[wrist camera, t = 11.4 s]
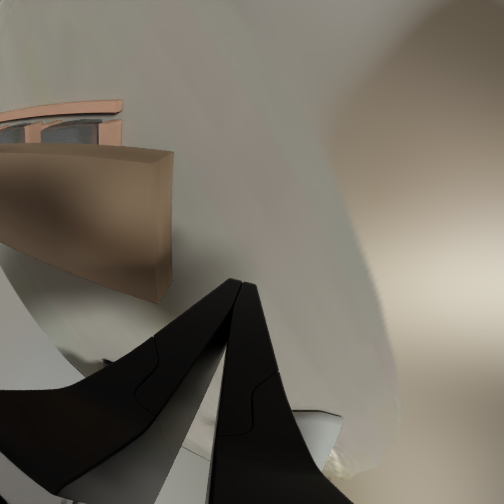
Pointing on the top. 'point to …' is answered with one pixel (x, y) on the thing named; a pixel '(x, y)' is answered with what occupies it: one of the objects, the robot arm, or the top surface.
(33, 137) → the roller track
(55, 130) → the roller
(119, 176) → the walnut board
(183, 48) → the top surface
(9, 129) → the middle roller
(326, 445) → the flask
